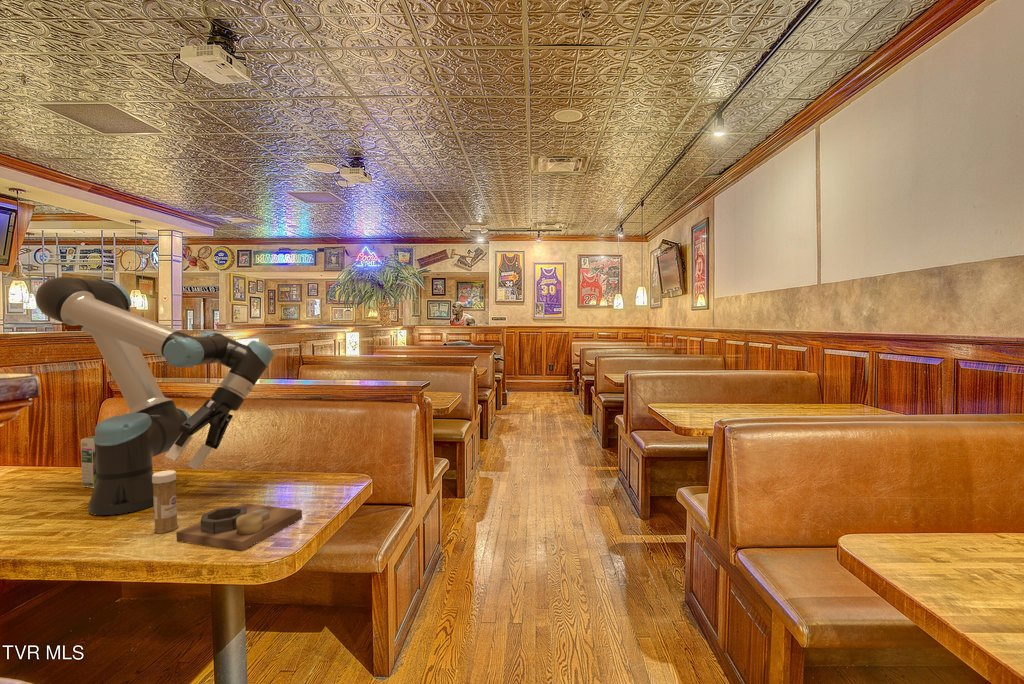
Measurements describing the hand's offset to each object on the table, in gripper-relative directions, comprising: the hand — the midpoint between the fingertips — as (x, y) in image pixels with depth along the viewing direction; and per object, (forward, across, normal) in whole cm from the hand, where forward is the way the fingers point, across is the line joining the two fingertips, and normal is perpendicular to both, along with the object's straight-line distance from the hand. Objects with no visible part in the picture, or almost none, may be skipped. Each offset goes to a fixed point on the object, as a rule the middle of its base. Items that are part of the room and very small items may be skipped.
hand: (181, 463), depth 128 cm
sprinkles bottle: (+14, -8, -10) cm, 19 cm away
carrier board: (+7, -12, -26) cm, 29 cm away
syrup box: (+15, +28, +29) cm, 43 cm away
